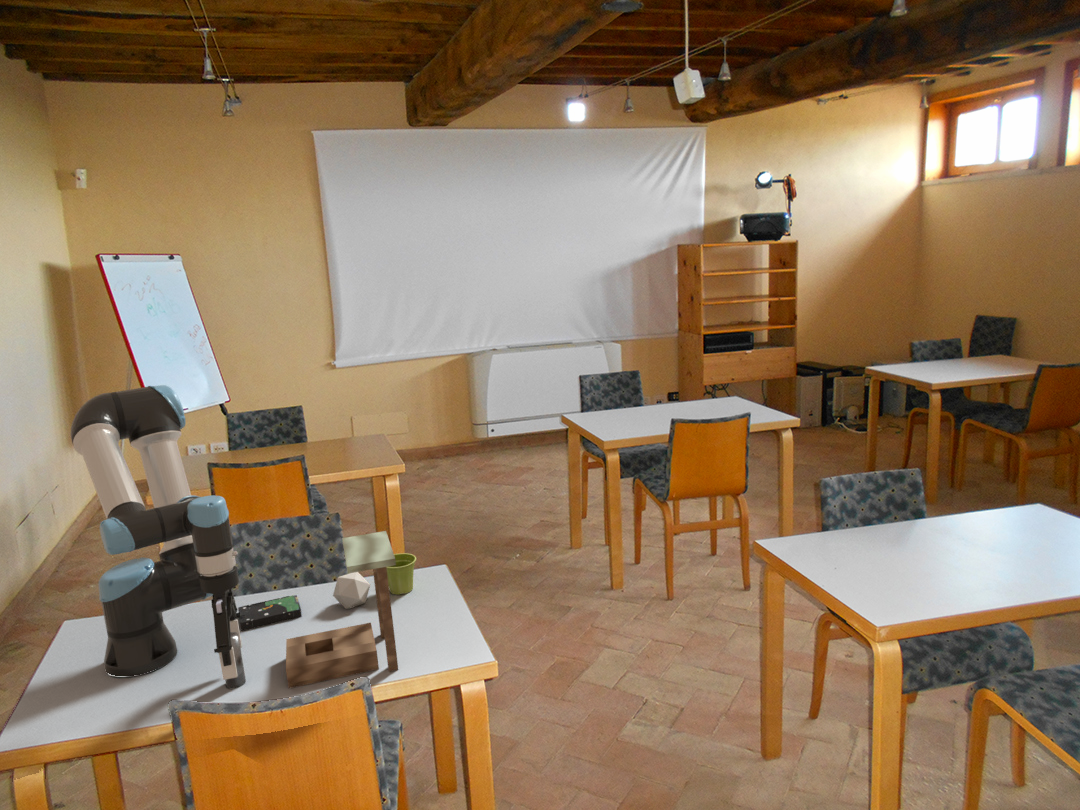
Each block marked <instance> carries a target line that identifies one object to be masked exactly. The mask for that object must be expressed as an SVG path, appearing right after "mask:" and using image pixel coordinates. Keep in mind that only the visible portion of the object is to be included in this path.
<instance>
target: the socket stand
mask: <svg viewBox="0 0 1080 810" xmlns="http://www.w3.org/2000/svg"><path fill="white" fill-rule="evenodd" d="M341 540H342V545H343V546H342V547H343V553H344V557H345V564H346V565H345V566H346V571H347V574H349V573H354V572H358V573H359V572H365V571H369V570H372V573H373V581H374V589H375V590H374V591H375V598H376V607H377V608H376V609H377V614H378V615H377V616H378V622H379V632H380V633H379V634H380V638H381V639H384V643H385V652H386V659H387V667H388V671H390V672H393V671H398V670H399V663H398V656H397V655H398V654H397V653H398V652H397V646H396V637H395V636H396V635H395V630H394V629H395V628H394V620H393V619H394V618H393V613H392V612H393V611H392V604H391V602H392V601H391V592H390V589H389V584H388V576H387V567H388V566H393V565H396V561H395V556H394V554H395V553H394V551H393V548H392V544H391V542H390V541H391V540H390V539H389V536H388V533H387V530H383V531H378V532H371V533H366V534H359V535H353V536H347V537H342V538H341ZM285 645H286V647H285V648H286V649H285V651H286V653H285V673H286V678H287V679H286V680H287V686H288V689H293V688H296V687H297V688H298V687H303V686H306V685H307V686H308V685H310V684H316V683H320V682H321V683H322V682H326V681H331V680H336V679H340V678H344V677H348V676H353V675H357V674H363V673H367V672H372V671H376V670H379V669H380V666H379V661H378V660H379V657H378V650H377V646H376V645H377V644H376V640H375V636H374V631H373V627H372V622H367V623H361V624H356V625H352V626H346V627H342V628H337V629H332V630H326V631H321V632H315V633H310V634H306V635H302V636H295V637H290V638H286V644H285Z"/></svg>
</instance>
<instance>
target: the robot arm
mask: <svg viewBox="0 0 1080 810" xmlns="http://www.w3.org/2000/svg"><path fill="white" fill-rule="evenodd" d="M186 421H187V420H186V416H185V411H184V407H183V405H182V402H181V400H180V398H179V396H178V395H177V392H176V391H175V390H174V389H173V388H172V387H170V386H169V385H167V384H161V385H155V386H154V385H148V386H145V387H144V386H142V387H138V388H133V389H126V390H124V389H123V390H120V391H113V392H105V393H100V394H98V395H95V396H93V397H91V398H90V399H88V400H87V401H86V402H85V403H84V404H83V405H82V406H80V408H79V409H78V411H77V412H76V413H75V415H74V417H73V420H72V422H71V426H70V440H71V443H72V446H73V449H74V450H75V452H77V454H79V455H81V456H82V457H83V460H84V463H85V465H86V469H87V471H88V474H89V477H90V478H91V481H92V484H93V486H94V489H95V491H96V495H97V497H98V500H99V503H100V505H101V508H102V511H103V513H104V515H105V518H106V519H105V520H102V521H101V522H100V524H99V531H100V537H101V541H102V544H103V547H104V551H105V552H106V554H108V555H111V556H113V555H120V554H126V553H131V552H134V551H136V550H140V549H144V548H147V547H151V546H155V545H157V544H160V543H161V544H162V543H163V546H162V547H161V549H160V551H159V553H158V555H159V560H158V561H155V562H154V561H153V559H151V558H149V557H140V558H133V559H128V560H126V561H123V562H121V563H118V564H116V565H115V566H112V567H111V568H109V569H108V570H106V571H105V572H104V573H103V574H102V575H101V576H100V577H99V580H98V585H97V586H98V593H99V597H98V598H99V601H100V602H101V606H102V612H103V617H104V623H105V629H106V634H107V642H106V648H105V654H104V659H103V666H104V671H105V670H106V671H105V673H106V672H107V673H109V674H111V675H115V676H134V675H139V676H141V675H140V674H143V675H145V674H144V673H146V674H148V673H147V672H149V673H151V672H150V671H152V672H154V671H156V670H155V669H157V670H159V669H161V668H163V667H164V666H166V665H168V664H169V663H170V662H172V661H173V660H174V659H175V658H176V656H177V654H178V646H177V643H176V640H175V638H174V637H173V635H172V634H171V632H170V630H169V629H168V627H167V625H166V623H165V622H164V616H163V613H164V612H167V611H169V610H174V609H176V608H180V607H182V606H186V605H189V604H193V603H196V602H199V601H201V600H202V601H204V600H206V599H208V598H211V609H212V614H213V622H214V623H213V625H214V626H213V627H214V634H215V644H216V648H214V649H213V650H214V651H213V652H214V654H216V653H217V654H218V655H219V662H220V667H221V674H222V680H223V681H225V680H226V679H230V678H235V677H237V676H238V675H237V669H236V663H235V657H234V651H233V647H232V645H231V632H235V633H238V635H239V641H240V648H242V647H243V645H242V644H243V643H242V639H241V634H240V633H241V632H240V631H241V630H240V627H239V626H240V624H239V620H238V619H239V618H240V617H241V616H240V612H239V611H238V607H237V604H236V600H235V597H234V592H233V589H234V588H236V587H237V586H238V585H239V582H240V579H239V573H238V568H237V566H236V564H237V561H236V556H238V551H237V550H234V544H233V543H234V542H233V536H232V529H231V524H230V516H229V515H230V511H229V509H228V506H227V502H226V499H225V497H223V496H220V495H205V496H198V495H194V494H193V495H192V493H191V489H190V485H189V482H188V479H187V475H186V471H185V466H184V463H183V459H182V456H181V452H180V449H179V445H178V441H179V439H180V437H182V431H181V430H182V429H183V428H184V429H185V426H186ZM126 439H128V441H129V444H130V447H132V448H133V449H134V450H137V451H139V454H140V455H139V456H140V458H141V459H140V460H141V463H142V467H143V471H144V474H145V478H146V482H147V485H148V486H147V487H148V489H149V493H150V497H151V501H152V504H153V507H154V508H149V509H146V505H145V503H144V501H143V499H142V496H141V495H140V492H139V489H138V487H137V484H136V481H135V479H134V477H133V476H132V473H131V470H130V468H129V466H128V464H127V461H126V459H125V456H124V454H123V452H122V449H121V447H120V445H119V443H120V441H121V440H126ZM225 644H226V645H225ZM167 663H168V664H167ZM162 666H163V667H162ZM160 667H161V668H160ZM158 668H159V669H158ZM153 670H154V671H153ZM107 673H106V674H107ZM134 677H135V676H134Z"/></svg>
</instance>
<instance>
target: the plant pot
mask: <svg viewBox="0 0 1080 810" xmlns="http://www.w3.org/2000/svg"><path fill="white" fill-rule="evenodd" d="M394 556H395V561H396V565H393V566H388V567H387V576H388V584H389V593H390V594H392V595H397V596H399V595H402V594H408V593H410V592H411V591H413V588H414V569H415V565H416V561H417V557H416V555H414V554H412V553H408V552H407V553H406V552H405V553H404V552H403V553H394Z"/></svg>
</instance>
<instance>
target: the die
mask: <svg viewBox="0 0 1080 810" xmlns="http://www.w3.org/2000/svg"><path fill="white" fill-rule="evenodd" d="M370 587H371V584H370V583H369V582H368V581H367V580H366V579H365V578H364V576H363V575H362V574H360V573H359V572H354V573H349V574H348V573H347V574H343V575H340V576H338V577H337V580H336V583H335V587H334V591H333V595H332V597H334V598H335V599H336V601H337V602H339V604H340V605H342V607H343V608H344V609H346V610H348V609H352V608H354V607H358V606H361V605H364V604H366V601H367V598H368V595H369V591H370Z"/></svg>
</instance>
